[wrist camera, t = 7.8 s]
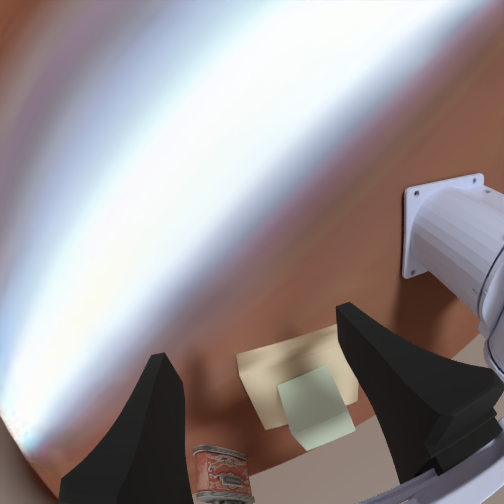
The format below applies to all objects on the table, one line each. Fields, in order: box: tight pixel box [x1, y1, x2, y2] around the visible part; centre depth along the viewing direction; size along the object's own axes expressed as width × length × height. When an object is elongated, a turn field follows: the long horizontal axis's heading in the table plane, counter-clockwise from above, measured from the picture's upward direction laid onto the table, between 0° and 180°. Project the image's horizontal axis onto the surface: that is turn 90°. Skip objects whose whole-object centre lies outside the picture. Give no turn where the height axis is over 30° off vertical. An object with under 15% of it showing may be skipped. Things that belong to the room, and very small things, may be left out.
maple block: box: [236, 324, 358, 430], centre depth 26 cm, size 10×10×3 cm
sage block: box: [277, 364, 355, 451], centre depth 23 cm, size 4×4×5 cm
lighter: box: [193, 445, 255, 504], centre depth 29 cm, size 8×3×10 cm, turn 49°
